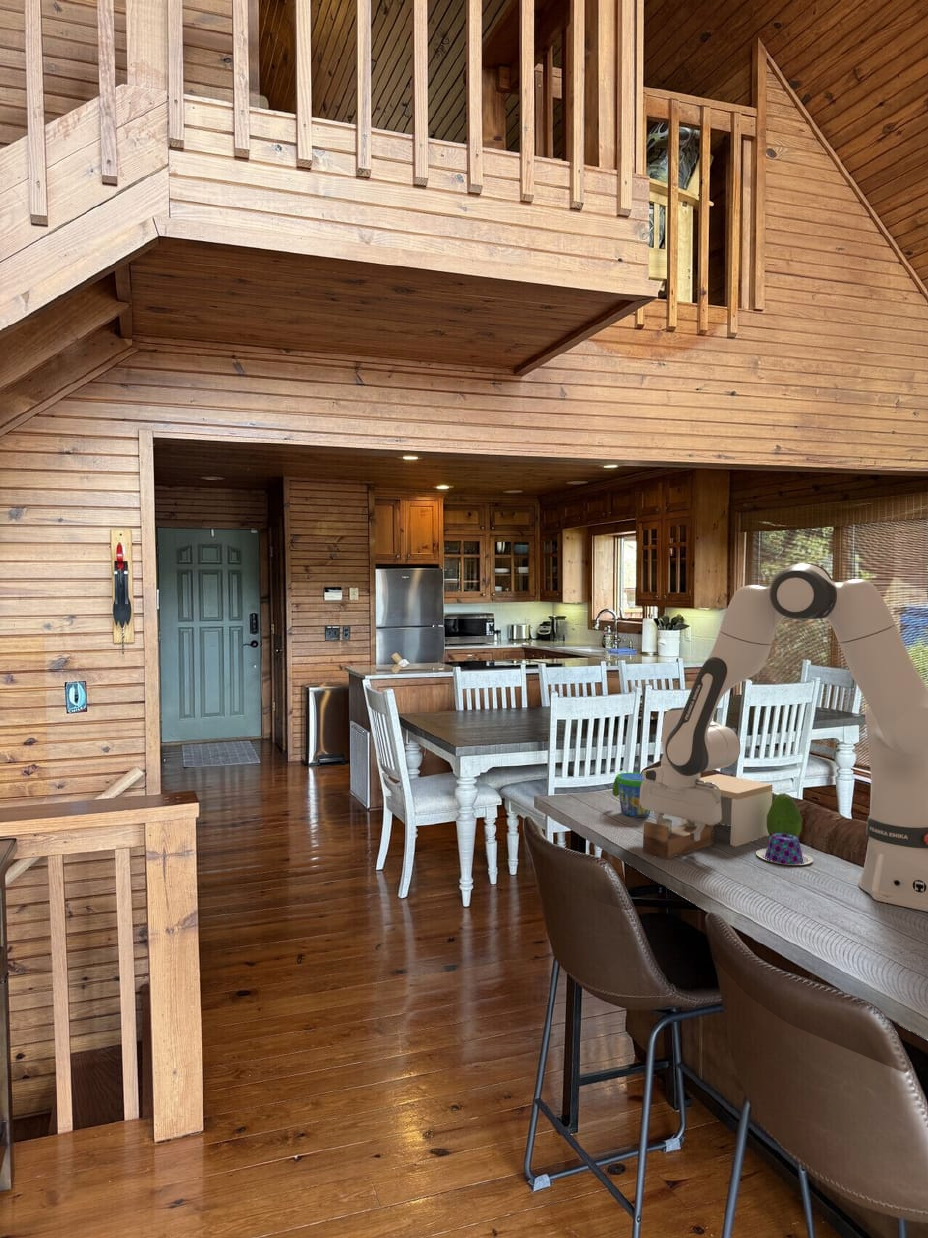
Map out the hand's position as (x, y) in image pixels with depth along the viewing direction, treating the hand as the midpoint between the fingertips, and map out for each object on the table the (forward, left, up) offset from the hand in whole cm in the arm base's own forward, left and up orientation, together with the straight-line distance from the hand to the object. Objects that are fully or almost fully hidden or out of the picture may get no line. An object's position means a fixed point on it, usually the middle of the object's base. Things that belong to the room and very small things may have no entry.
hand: (678, 835), depth 192 cm
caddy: (0, 0, -3) cm, 3 cm away
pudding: (-19, -13, -3) cm, 23 cm away
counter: (0, -20, -3) cm, 20 cm away
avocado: (-13, -24, -3) cm, 27 cm away
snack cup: (+25, -17, -3) cm, 30 cm away
